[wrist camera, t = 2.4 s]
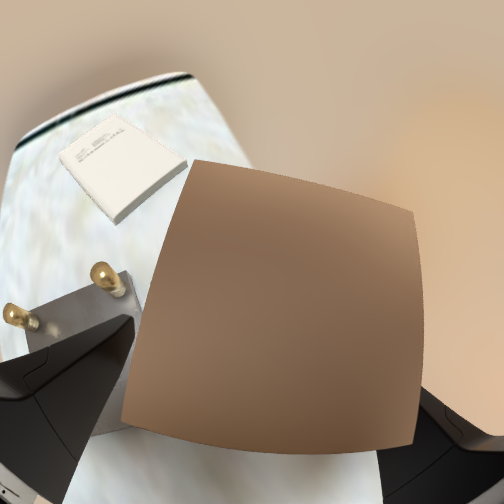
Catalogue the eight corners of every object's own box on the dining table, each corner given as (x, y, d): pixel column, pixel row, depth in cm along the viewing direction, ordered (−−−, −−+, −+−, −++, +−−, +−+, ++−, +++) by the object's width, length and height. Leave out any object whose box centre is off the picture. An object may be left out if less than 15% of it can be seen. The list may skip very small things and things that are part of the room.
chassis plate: (182, 409, 15) (171, 419, 11) (66, 439, 12) (37, 448, 8) (129, 275, 18) (111, 252, 15) (29, 317, 15) (-1, 303, 12)
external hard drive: (118, 229, 20) (61, 164, 23) (188, 170, 23) (119, 121, 26) (111, 218, 19) (56, 154, 21) (187, 158, 22) (116, 111, 24)
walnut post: (272, 395, 16) (411, 444, 3) (196, 382, 16) (120, 421, 3) (283, 324, 18) (412, 211, 5) (210, 310, 18) (194, 159, 5)
